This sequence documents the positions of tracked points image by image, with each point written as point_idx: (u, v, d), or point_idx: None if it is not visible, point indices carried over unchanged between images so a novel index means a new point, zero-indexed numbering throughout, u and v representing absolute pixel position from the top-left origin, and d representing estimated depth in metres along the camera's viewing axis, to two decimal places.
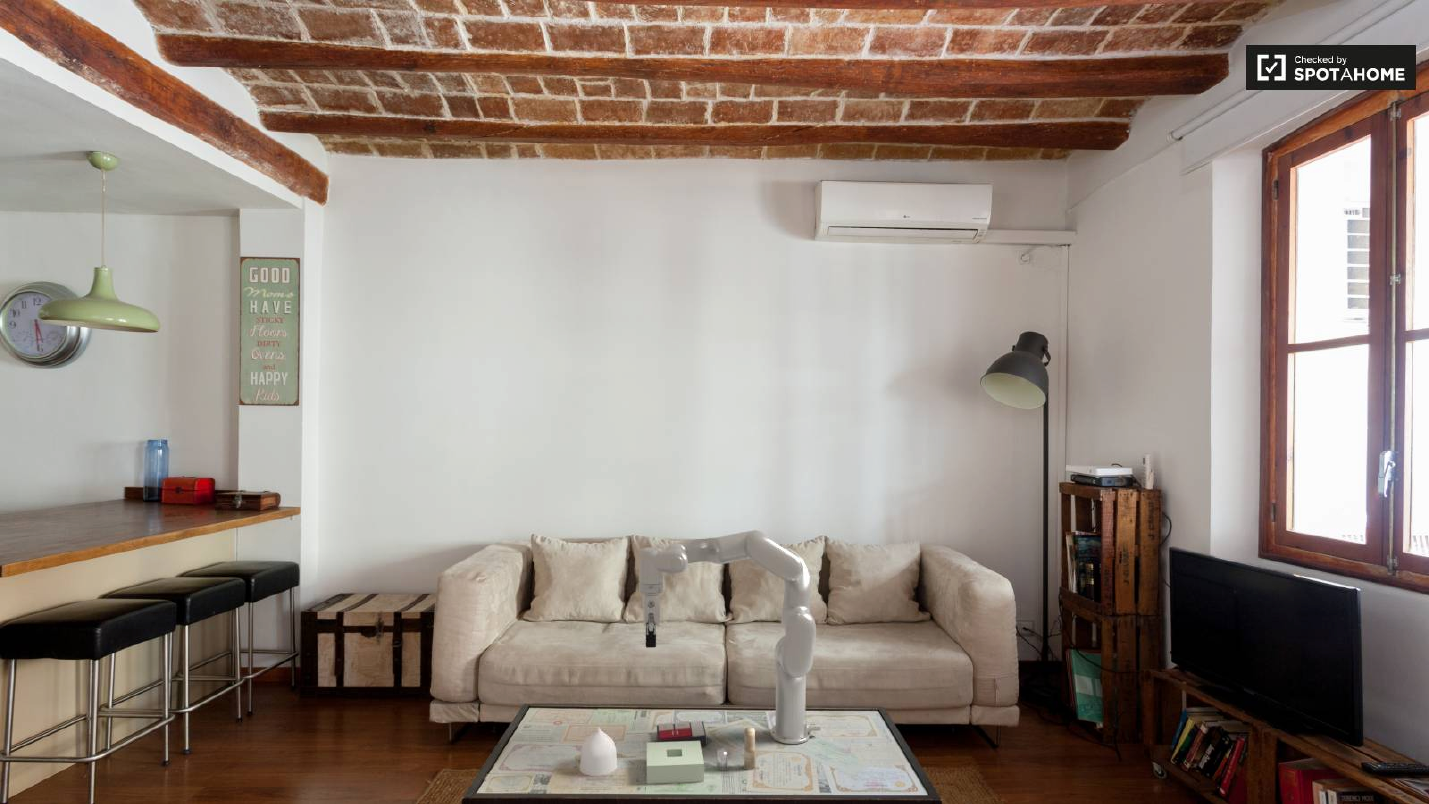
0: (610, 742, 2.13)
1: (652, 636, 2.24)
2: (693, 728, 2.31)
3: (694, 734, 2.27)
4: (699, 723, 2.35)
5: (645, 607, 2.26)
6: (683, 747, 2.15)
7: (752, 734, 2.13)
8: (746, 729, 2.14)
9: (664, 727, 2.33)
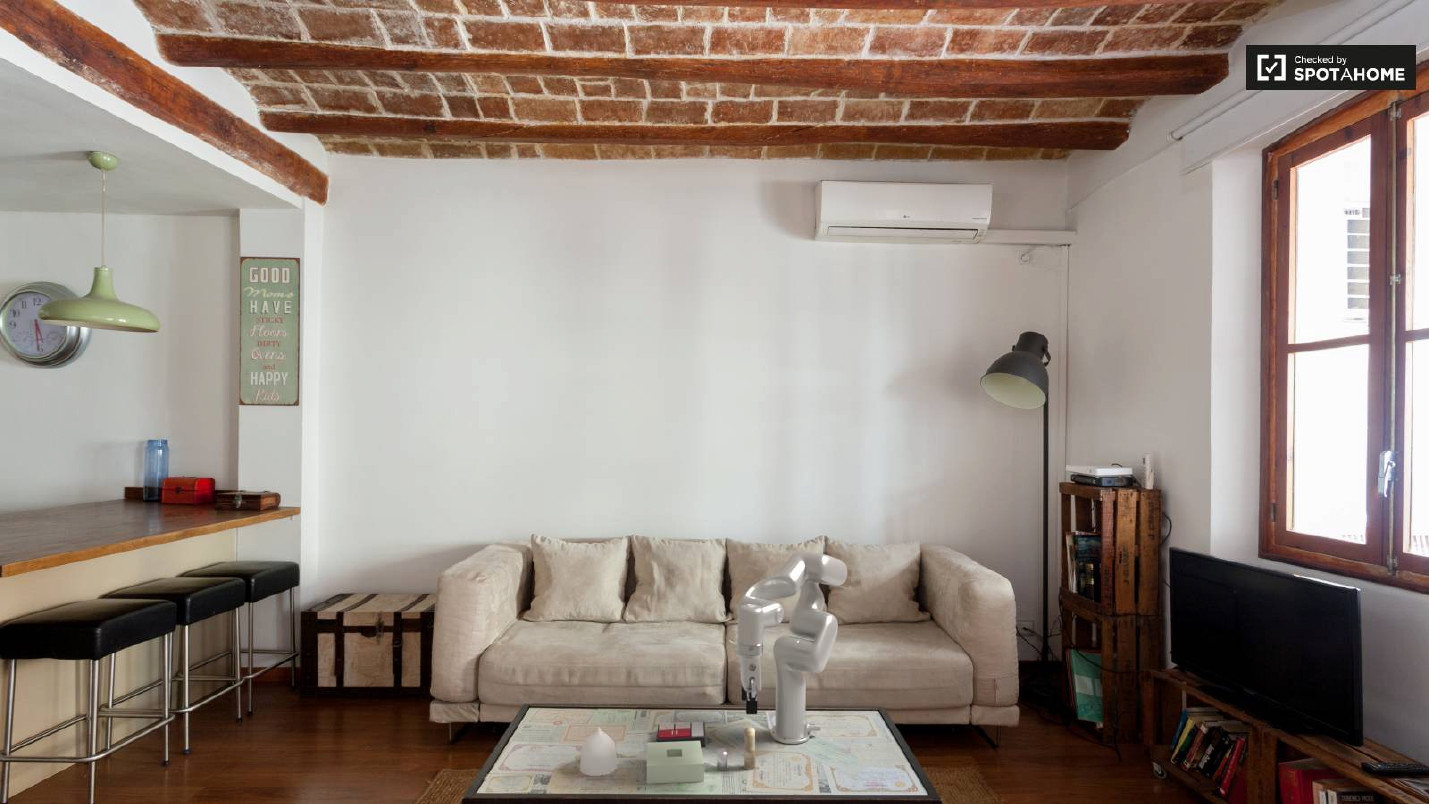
0: (610, 742, 2.13)
1: (753, 702, 2.08)
2: (693, 729, 2.31)
3: (693, 735, 2.27)
4: (700, 724, 2.34)
5: (746, 670, 2.09)
6: (683, 747, 2.15)
7: (752, 734, 2.13)
8: (746, 729, 2.14)
9: (664, 727, 2.33)
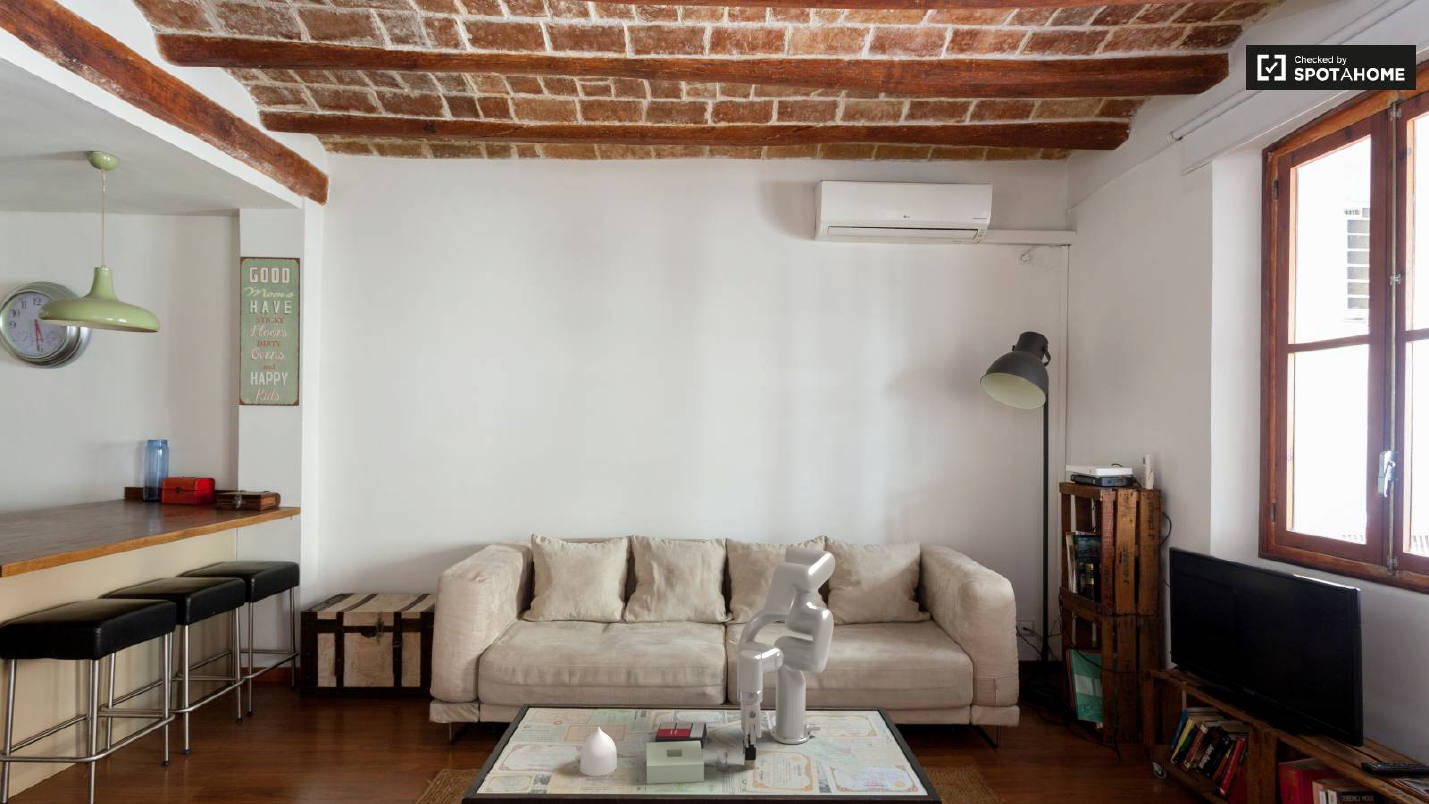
0: (610, 742, 2.13)
1: (752, 749, 2.11)
2: (693, 729, 2.31)
3: (691, 735, 2.27)
4: (701, 725, 2.34)
5: (746, 717, 2.09)
6: (683, 747, 2.15)
7: None
8: None
9: (665, 726, 2.34)
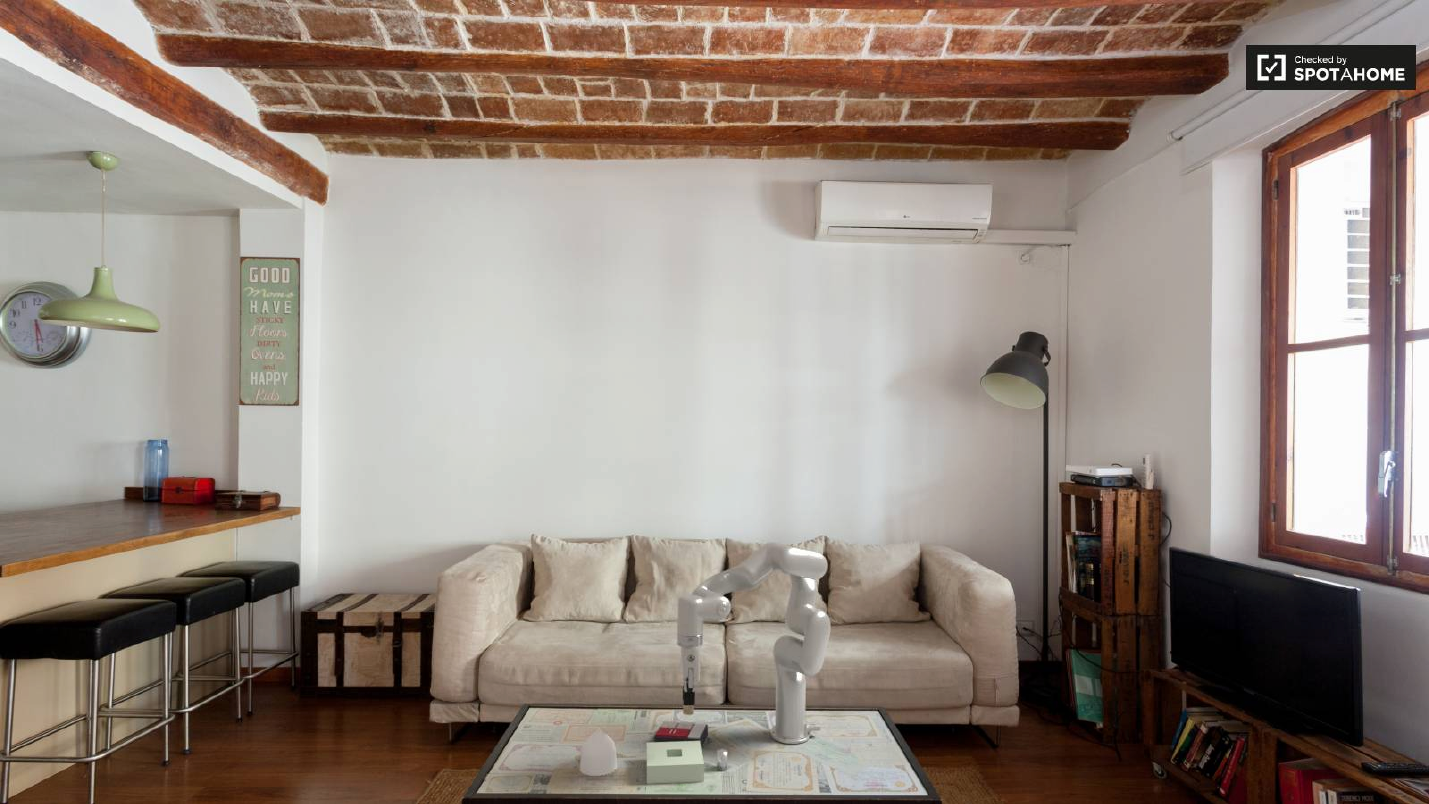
0: (610, 742, 2.13)
1: (691, 693, 2.09)
2: (693, 730, 2.30)
3: (689, 736, 2.26)
4: (702, 726, 2.33)
5: (684, 661, 2.08)
6: (683, 747, 2.15)
7: None
8: None
9: (667, 725, 2.34)
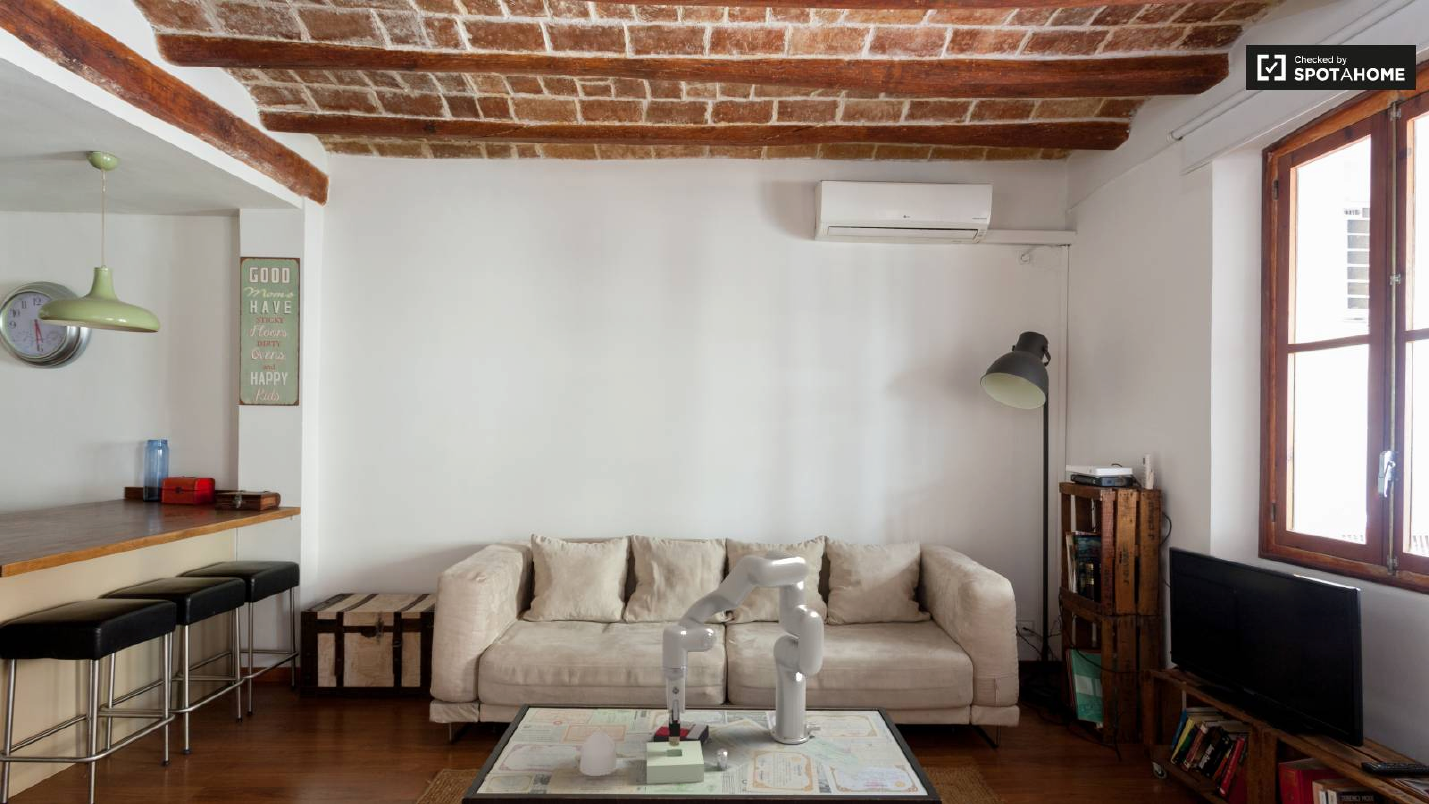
0: (610, 742, 2.13)
1: (676, 725, 2.09)
2: (692, 730, 2.30)
3: (688, 736, 2.26)
4: (702, 726, 2.32)
5: (669, 693, 2.07)
6: (683, 747, 2.15)
7: None
8: None
9: (668, 724, 2.35)
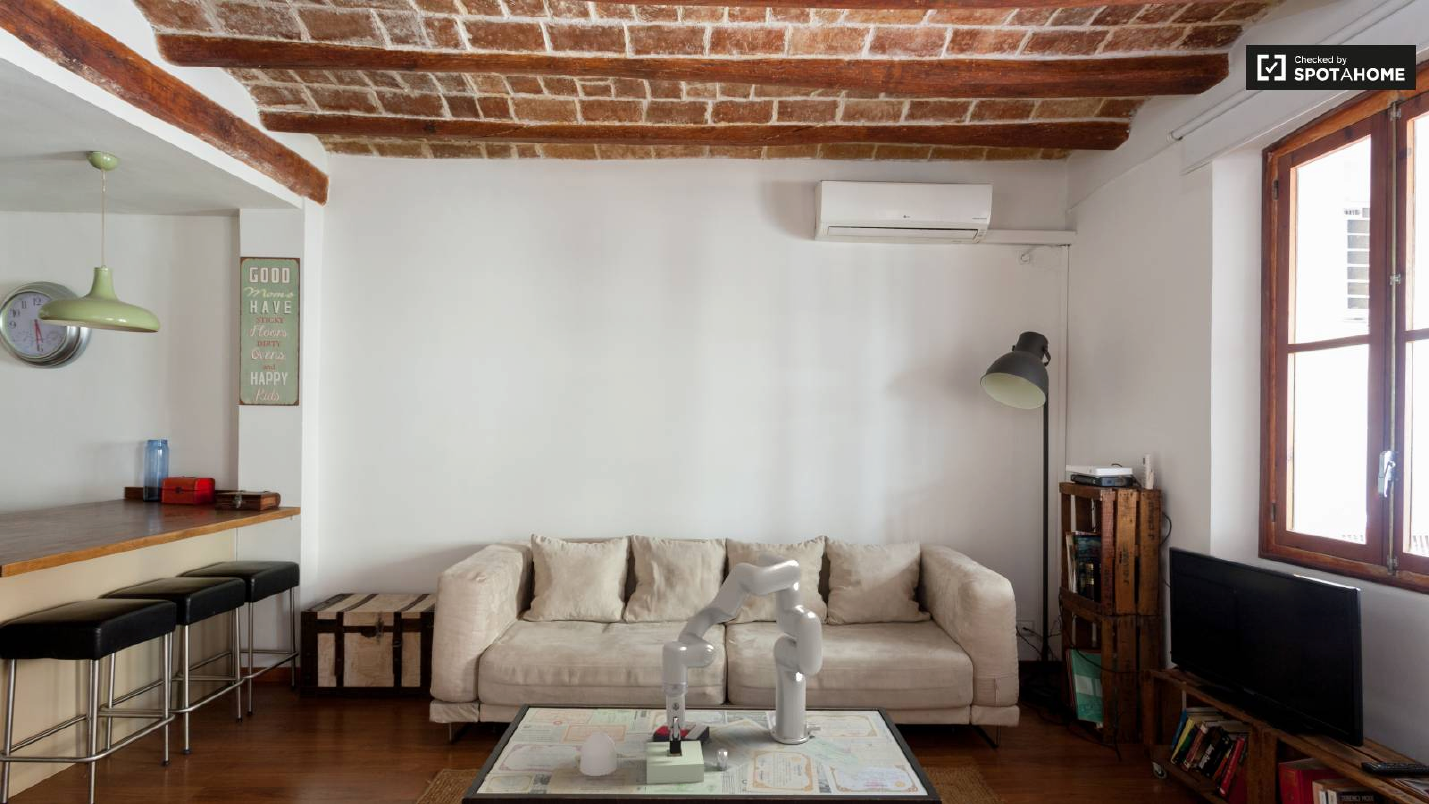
0: (610, 742, 2.13)
1: (677, 742, 2.06)
2: (692, 730, 2.30)
3: (686, 736, 2.26)
4: (702, 727, 2.32)
5: (669, 709, 2.07)
6: (683, 747, 2.15)
7: None
8: None
9: None
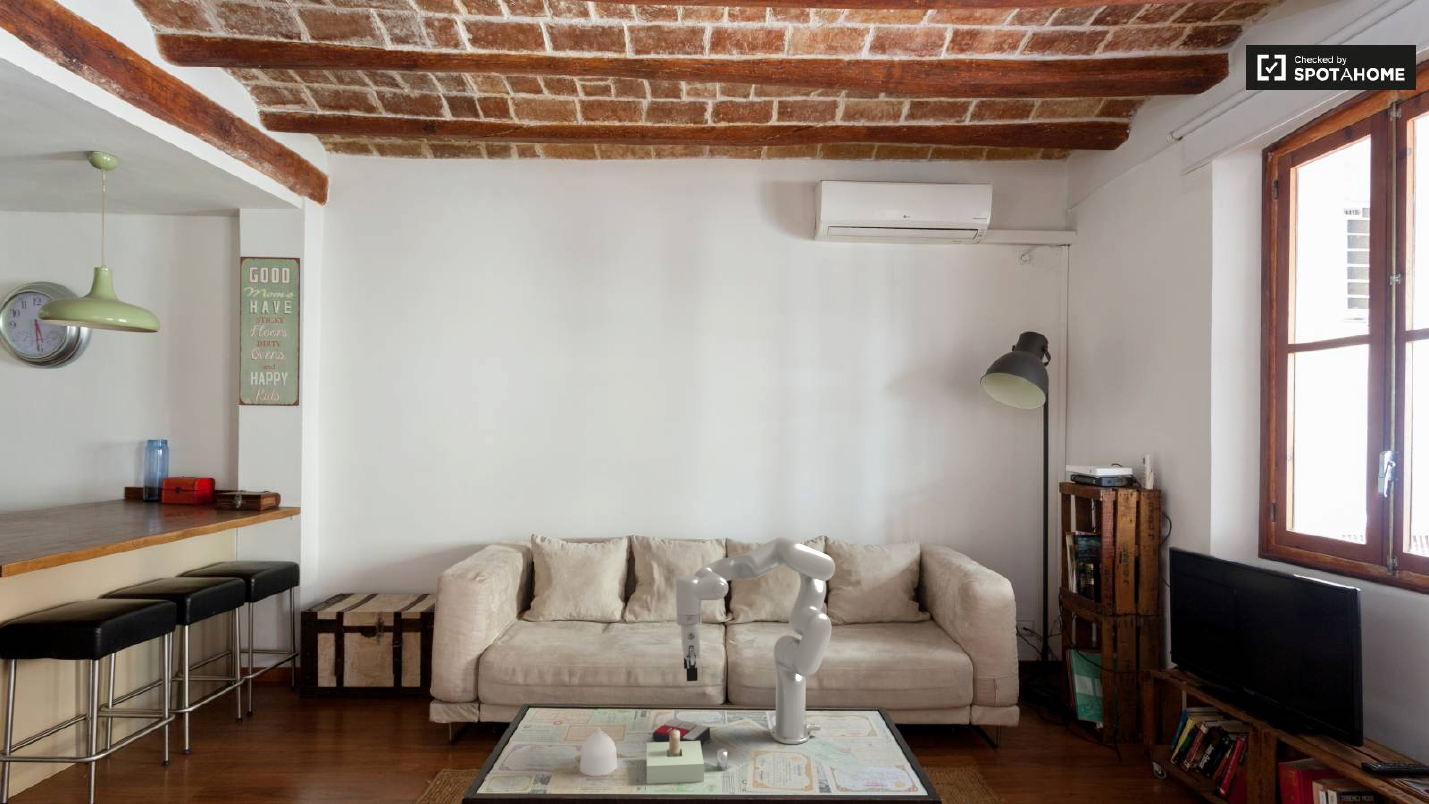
0: (610, 742, 2.13)
1: (693, 669, 2.14)
2: (691, 731, 2.29)
3: (684, 736, 2.26)
4: (702, 728, 2.31)
5: (685, 639, 2.15)
6: (683, 747, 2.15)
7: (677, 736, 2.11)
8: (671, 731, 2.12)
9: (670, 723, 2.36)
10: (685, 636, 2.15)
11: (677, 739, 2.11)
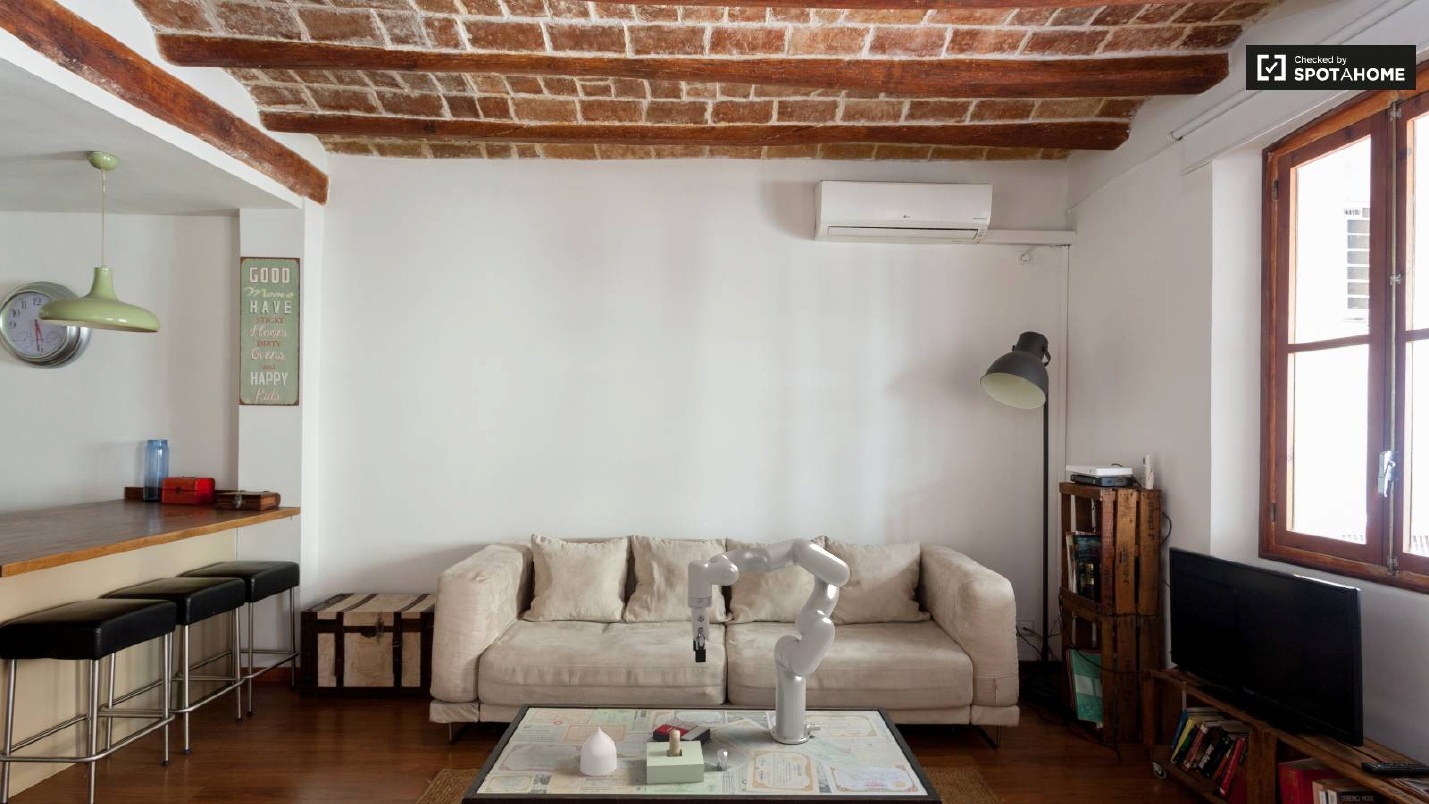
0: (610, 742, 2.13)
1: (702, 651, 2.20)
2: (691, 731, 2.29)
3: (683, 736, 2.26)
4: (702, 729, 2.31)
5: (694, 621, 2.21)
6: (683, 747, 2.15)
7: (677, 736, 2.11)
8: (671, 731, 2.12)
9: (672, 722, 2.36)
10: (695, 618, 2.21)
11: (677, 739, 2.11)
